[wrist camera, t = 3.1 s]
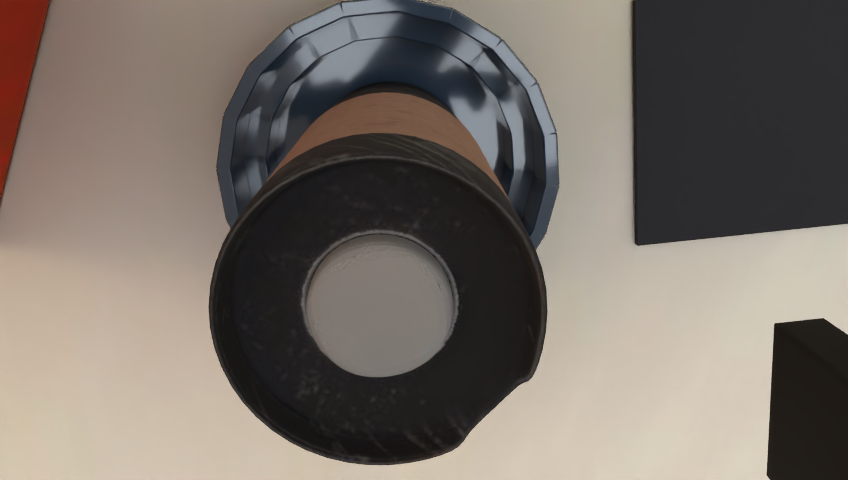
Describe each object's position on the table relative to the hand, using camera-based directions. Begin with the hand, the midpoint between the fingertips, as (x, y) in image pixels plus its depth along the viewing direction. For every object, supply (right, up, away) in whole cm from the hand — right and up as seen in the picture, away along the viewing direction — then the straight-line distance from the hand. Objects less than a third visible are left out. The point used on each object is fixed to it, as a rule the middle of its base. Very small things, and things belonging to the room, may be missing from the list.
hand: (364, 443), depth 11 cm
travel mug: (-1, +7, +23) cm, 25 cm away
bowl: (-1, +7, +24) cm, 25 cm away
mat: (+17, +9, +24) cm, 31 cm away
